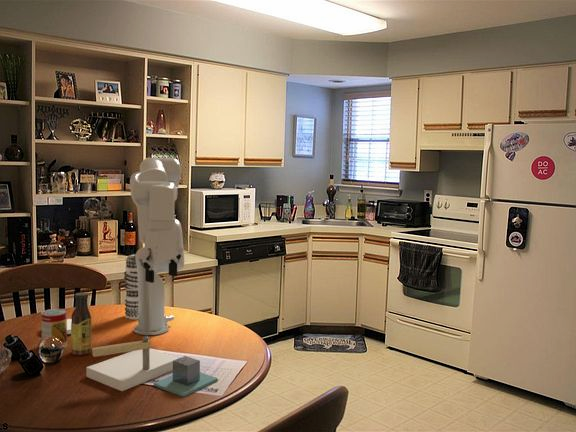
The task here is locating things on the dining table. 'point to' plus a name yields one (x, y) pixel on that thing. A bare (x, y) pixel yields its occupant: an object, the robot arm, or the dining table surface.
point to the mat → (183, 389)
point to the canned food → (54, 324)
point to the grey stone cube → (186, 370)
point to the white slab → (131, 368)
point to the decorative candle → (131, 287)
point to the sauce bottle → (81, 326)
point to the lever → (121, 347)
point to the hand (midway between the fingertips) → (161, 278)
